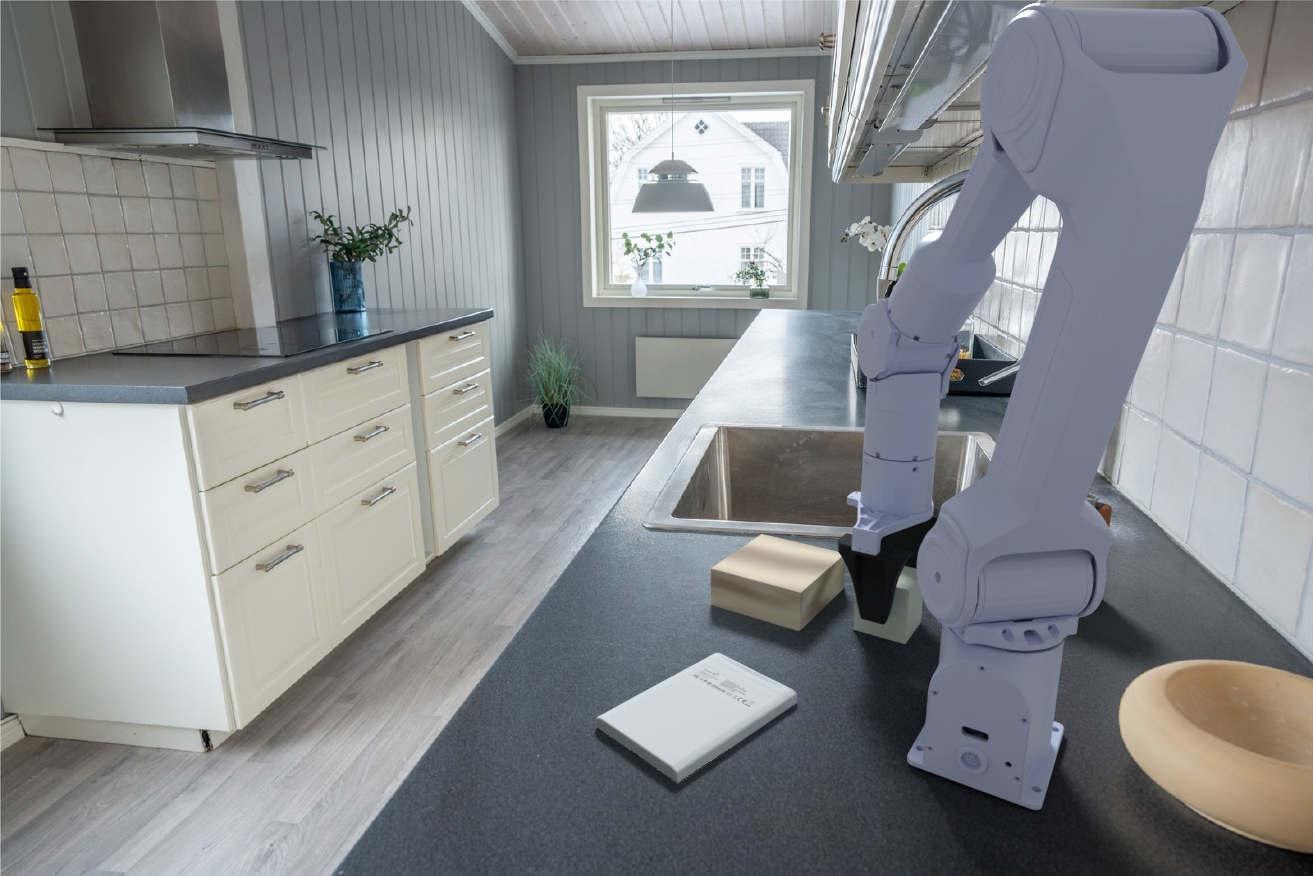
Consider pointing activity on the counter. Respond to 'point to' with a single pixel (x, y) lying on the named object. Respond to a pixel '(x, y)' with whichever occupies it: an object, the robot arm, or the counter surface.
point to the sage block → (897, 611)
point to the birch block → (778, 581)
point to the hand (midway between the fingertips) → (888, 602)
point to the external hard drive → (697, 714)
